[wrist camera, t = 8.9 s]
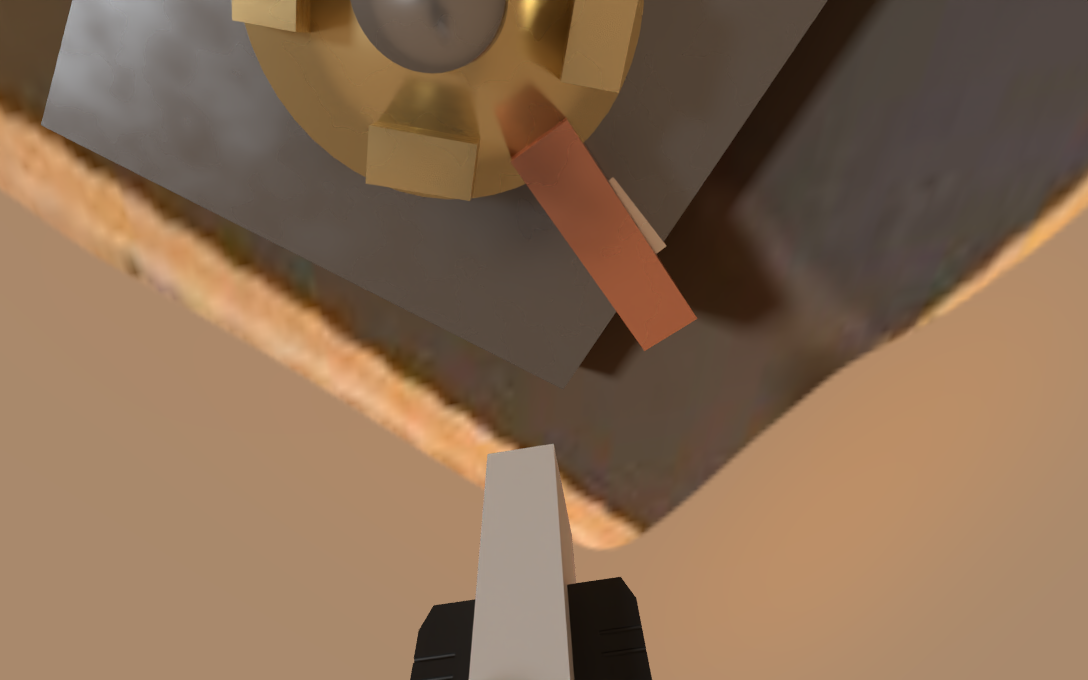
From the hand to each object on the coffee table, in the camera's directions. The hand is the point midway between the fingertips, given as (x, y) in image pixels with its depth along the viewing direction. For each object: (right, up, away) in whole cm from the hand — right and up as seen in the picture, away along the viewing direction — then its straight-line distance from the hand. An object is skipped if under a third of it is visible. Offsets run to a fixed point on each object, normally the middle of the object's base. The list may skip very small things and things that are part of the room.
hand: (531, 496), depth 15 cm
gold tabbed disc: (-1, +12, +6) cm, 13 cm away
